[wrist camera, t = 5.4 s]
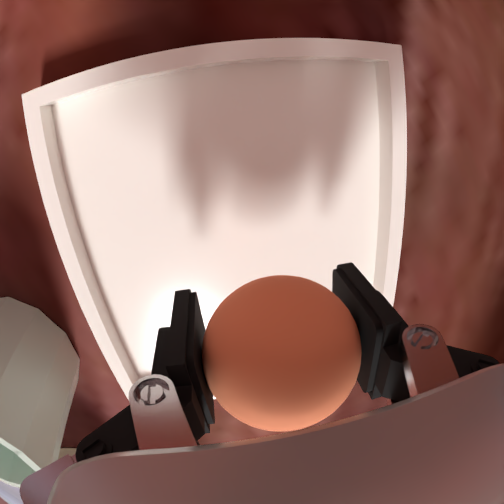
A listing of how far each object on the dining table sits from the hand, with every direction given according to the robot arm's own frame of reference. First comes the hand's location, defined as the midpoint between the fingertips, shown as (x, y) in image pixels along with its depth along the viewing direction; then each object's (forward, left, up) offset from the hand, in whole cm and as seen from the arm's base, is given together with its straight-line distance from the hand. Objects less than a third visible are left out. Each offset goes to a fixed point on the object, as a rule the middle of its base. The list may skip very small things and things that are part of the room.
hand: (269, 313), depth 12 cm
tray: (+1, -1, -5) cm, 5 cm away
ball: (0, 0, 0) cm, 0 cm away
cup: (+16, +4, -5) cm, 17 cm away
